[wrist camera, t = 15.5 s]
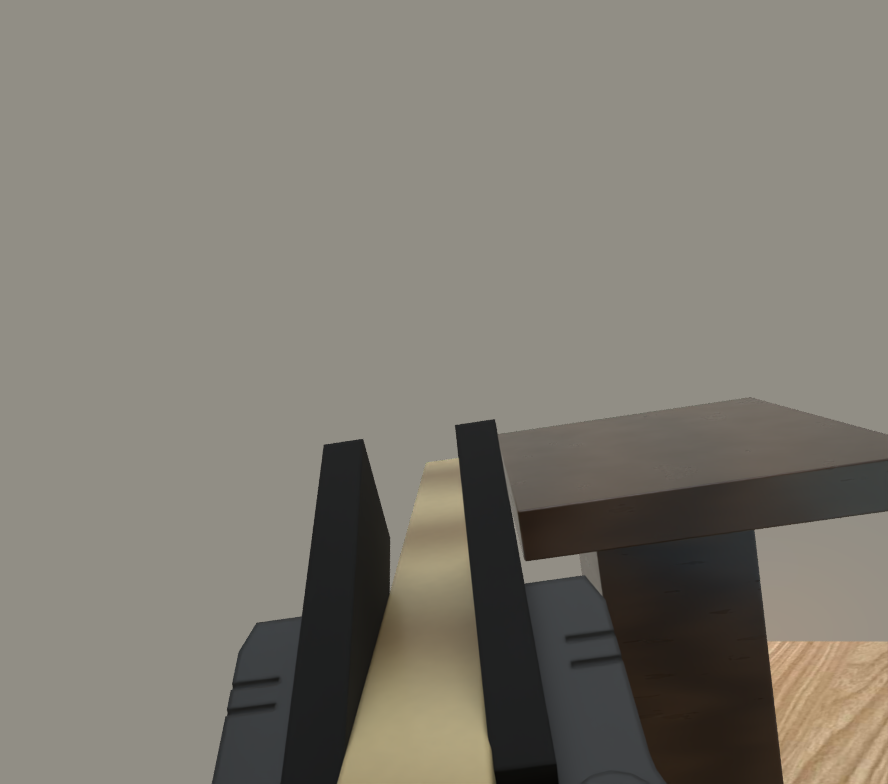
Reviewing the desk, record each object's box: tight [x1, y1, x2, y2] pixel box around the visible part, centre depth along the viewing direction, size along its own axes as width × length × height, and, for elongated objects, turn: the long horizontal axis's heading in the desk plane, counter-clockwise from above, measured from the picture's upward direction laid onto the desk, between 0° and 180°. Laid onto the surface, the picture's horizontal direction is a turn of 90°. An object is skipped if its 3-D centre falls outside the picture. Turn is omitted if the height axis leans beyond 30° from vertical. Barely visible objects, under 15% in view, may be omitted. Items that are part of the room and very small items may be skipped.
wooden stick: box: [337, 458, 496, 784], centre depth 17 cm, size 20×2×2 cm, turn 178°
